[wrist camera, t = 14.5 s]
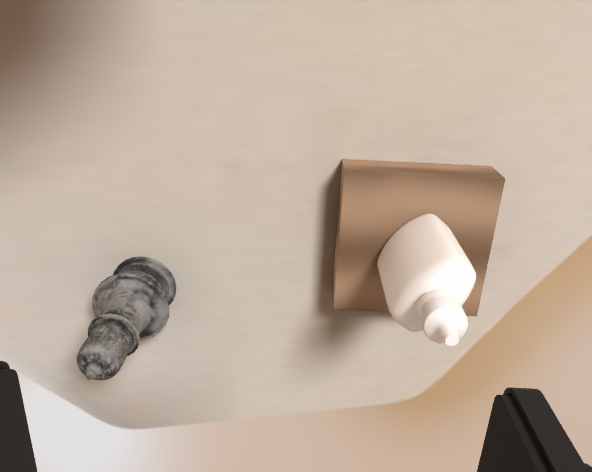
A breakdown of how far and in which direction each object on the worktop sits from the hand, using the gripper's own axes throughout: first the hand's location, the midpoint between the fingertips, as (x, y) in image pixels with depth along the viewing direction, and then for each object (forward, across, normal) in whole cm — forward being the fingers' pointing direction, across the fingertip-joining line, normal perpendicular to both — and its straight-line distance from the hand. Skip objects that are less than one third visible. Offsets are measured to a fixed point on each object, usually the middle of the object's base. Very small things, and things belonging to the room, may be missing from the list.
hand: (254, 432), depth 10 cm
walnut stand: (+30, -9, +8) cm, 33 cm away
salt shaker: (+31, +12, +14) cm, 36 cm away
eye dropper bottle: (+28, -9, +8) cm, 30 cm away
